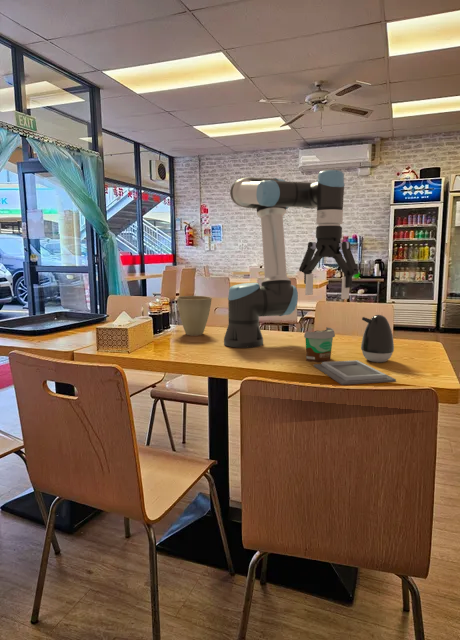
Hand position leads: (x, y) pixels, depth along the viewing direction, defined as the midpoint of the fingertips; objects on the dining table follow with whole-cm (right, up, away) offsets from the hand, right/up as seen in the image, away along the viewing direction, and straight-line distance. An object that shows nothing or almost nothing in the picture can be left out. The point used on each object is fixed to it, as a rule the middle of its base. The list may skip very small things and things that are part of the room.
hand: (326, 296), depth 135 cm
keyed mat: (+7, -23, -4) cm, 24 cm away
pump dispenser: (+19, -21, +11) cm, 30 cm away
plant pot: (-45, -13, +58) cm, 75 cm away
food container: (+1, -20, +12) cm, 24 cm away
